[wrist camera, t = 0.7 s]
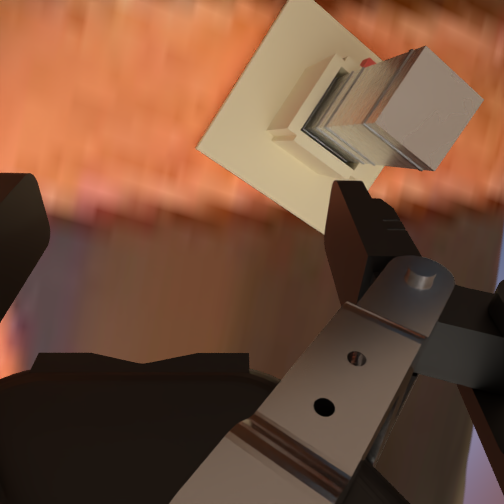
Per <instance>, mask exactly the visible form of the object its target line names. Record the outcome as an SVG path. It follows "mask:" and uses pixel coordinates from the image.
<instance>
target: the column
mask: <svg viewBox="0 0 504 504" xmlns="http://www.w3.org/2000/svg"><path fill="white" fill-rule="evenodd" d="M483 101H484V99H483V98H482V97H481V96H480V95H479V94H477V93H476V92H475V91H474V90H473V89H472V88H471V87H470V86H469V85H468V84H467V83H466V82H465V81H463V80H462V79H461V78H460V77H459V76H458V75H457V74H456V73H455V72H454V71H453V70H452V69H451V68H449V67H448V66H447V65H446V64H445V63H444V62H443V61H442V60H441V59H440V58H439V57H438V56H437V55H435V54H434V53H433V52H432V51H431V50H430V49H429V48H428V47H427V46H424V47H421V48H418V49H415V50H413V49H411V50H409V52H407V53H404V54H402V55H399V56H396V57H393V58H390V59H388V60H385V61H382V62H379V63H377V64H374V65H371V66H368V67H366V68H365V67H362V68H361V69H360V70H357V71H351V73H349V74H346V75H343V76H341V77H338V78H337V77H335V78H334V79H333V80H332V82H331V84H330V85H329V87H328V88H327V90H326V91H325V93H324V94H323V96H322V97H321V99H320V101H319V102H318V104H317V105H316V107H315V108H314V110H313V111H312V113H311V114H310V116H309V118H308V119H307V121H306V122H305V124H304V125H303V127H302V128H301V131H302V132H303V133H305V134H306V135H308V136H309V137H310V138H312V139H313V140H314V141H316V142H317V143H318V144H320V145H321V146H322V147H324V148H325V149H326V150H328V151H329V152H330V153H332V154H333V155H334V156H336V157H337V158H338V159H340V160H341V161H344V162H346V163H347V162H354V163H361V164H363V165H364V164H372V165H373V166H375V165H382V166H392V167H401V168H410V169H418V170H419V171H423V170H429V171H435V170H436V169H437V167H438V166H439V164H440V163H441V161H442V160H443V158H444V157H445V156H446V154H447V153H448V151H449V150H450V148H451V147H452V145H453V144H454V143H455V141H456V140H457V138H458V137H459V135H460V134H461V132H462V131H463V130H464V128H465V127H466V125H467V124H468V122H469V121H470V119H471V118H472V116H473V115H474V114H475V112H476V111H477V109H478V108H479V106H480V105H481V103H482V102H483Z"/></svg>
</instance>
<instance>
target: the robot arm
mask: <svg viewBox="0 0 504 504" xmlns="http://www.w3.org/2000/svg"><path fill="white" fill-rule="evenodd" d="M49 239H50V226H49V222H48V218H47V215H46V211H45V207H44V204H43V200H42V197H41V193H40V190H39V186H38V183H37V180H36V178H35V177H34V175H32V174H30V173H0V322H1V321H2V319H3V317H4V316H5V314H6V312H7V311H8V309H9V308H10V306H11V304H12V303H13V301H14V300H15V298H16V296H17V295H18V293H19V291H20V290H21V288H22V287H23V285H24V283H25V282H26V280H27V278H28V277H29V275H30V274H31V272H32V270H33V269H34V267H35V266H36V264H37V262H38V261H39V259H40V257H41V256H42V254H43V253H44V251H45V249H46V248H47V246H48V243H49ZM324 245H325V251H326V255H327V258H328V262H329V265H330V269H331V272H332V276H333V279H334V283H335V286H336V290H337V293H338V297H339V300H340V304H341V308H340V309H339V310H338V311H337V312H336V314H335V315H334V316H333V317H332V319H331V320H330V321H329V322H328V324H327V325H326V326H325V327H324V328H323V330H322V331H321V332H320V333H319V335H318V336H317V337H316V338H315V339H314V341H313V342H312V343H311V344H310V346H309V347H308V348H307V349H306V351H305V352H304V353H303V354H302V355H301V357H300V358H299V359H298V360H297V362H296V363H295V364H294V365H293V366H292V368H291V369H290V370H289V371H288V373H287V374H286V375H285V376H284V378H283V379H282V380H280V379H278V378H276V377H273V376H271V375H269V374H266V373H263V372H260V371H257V370H253V369H249V353H196V354H191V355H186V356H181V357H176V358H171V359H166V360H161V361H156V362H151V363H145V364H140V363H135V362H130V361H126V360H121V359H117V358H112V357H108V356H103V355H99V354H94V353H39V354H38V356H37V358H36V360H35V362H34V364H33V366H32V368H31V370H27V371H23V372H19V373H16V374H12V375H10V376H7V377H4V378H2V379H0V504H410V503H409V502H408V501H407V500H406V499H405V498H404V497H403V496H402V495H401V494H400V493H399V492H398V491H397V490H396V489H395V488H394V487H393V486H392V485H391V484H390V483H389V482H388V481H387V480H386V479H385V478H384V477H383V476H382V475H381V474H380V473H379V472H378V471H377V470H376V469H375V468H374V467H375V465H376V463H377V461H378V459H379V457H380V455H381V452H382V450H383V448H384V445H385V443H386V441H387V439H388V436H389V434H390V432H391V430H392V428H393V426H394V424H395V422H396V420H397V418H398V416H399V414H400V412H401V410H402V408H403V406H404V404H405V402H406V400H407V398H408V396H409V394H410V392H411V390H412V388H413V386H414V384H415V382H416V380H417V378H418V376H419V374H422V375H426V376H429V377H433V378H437V379H441V380H444V381H448V382H452V383H456V384H457V387H458V389H459V391H460V394H461V396H462V398H463V401H464V403H465V405H466V408H467V410H468V412H469V415H470V417H471V420H472V422H473V424H474V427H475V429H476V431H477V434H478V436H479V438H480V441H481V443H482V445H483V448H484V450H485V453H486V455H487V457H488V460H489V462H490V464H491V467H492V469H493V471H494V474H495V476H496V478H497V481H498V483H499V486H500V488H501V490H502V492H503V495H504V280H503V281H501V282H500V283H499V285H498V287H497V289H496V291H495V293H494V294H493V293H488V292H483V291H479V290H474V289H469V288H465V287H461V286H458V285H455V279H454V277H453V275H452V273H451V272H450V271H449V270H448V269H447V268H446V267H444V266H443V265H441V264H440V263H438V262H436V261H433V260H431V259H428V258H425V257H422V256H421V254H420V253H419V251H418V249H417V248H416V246H415V244H414V243H413V241H412V239H411V237H410V236H409V234H408V232H407V231H405V227H404V225H403V224H402V222H400V219H399V217H398V215H397V213H396V212H395V210H394V208H392V207H391V206H390V205H388V204H387V203H386V202H384V201H383V200H382V199H376V198H371V196H370V194H369V192H368V190H367V189H366V187H365V185H364V183H363V181H354V180H334V182H333V184H332V188H331V194H330V200H329V206H328V212H327V219H326V225H325V233H324Z"/></svg>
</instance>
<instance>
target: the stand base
mask: <svg viewBox="0 0 504 504" xmlns="http://www.w3.org/2000/svg"><path fill="white" fill-rule="evenodd" d="M379 62H382V60H381V59H380V58H379V57H378V56H377V55H375V54H374V53H373V52H372V51H371V50H370V49H369V48H367V47H366V46H365V45H364V44H363V43H362V42H361V41H359V40H358V39H357V38H356V37H355V36H354V35H353V34H351V33H350V32H349V31H348V30H347V29H346V28H345V27H343V26H342V25H341V24H340V23H339V22H338V21H337V20H335V19H334V18H333V17H332V16H331V15H330V14H329V13H327V12H326V11H325V10H324V9H323V8H322V7H321V6H319V5H318V4H317V3H316V2H315V1H314V0H287V1H286V3H285V5H284V6H283V8H282V9H281V11H280V13H279V14H278V16H277V18H276V19H275V21H274V22H273V24H272V26H271V27H270V29H269V30H268V32H267V34H266V35H265V37H264V38H263V40H262V42H261V43H260V45H259V46H258V48H257V50H256V51H255V53H254V54H253V56H252V58H251V59H250V61H249V62H248V64H247V66H246V67H245V69H244V70H243V72H242V74H241V75H240V77H239V78H238V80H237V82H236V83H235V85H234V86H233V88H232V90H231V91H230V93H229V94H228V96H227V98H226V99H225V101H224V103H223V104H222V106H221V107H220V109H219V111H218V112H217V114H216V115H215V117H214V119H213V120H212V122H211V123H210V125H209V127H208V128H207V130H206V131H205V133H204V135H203V136H202V138H201V139H200V141H199V143H198V144H197V146H196V147H195V149H197V150H198V151H200V152H201V153H203V154H204V155H206V156H207V157H209V158H210V159H212V160H213V161H215V162H216V163H218V164H219V165H221V166H222V167H224V168H225V169H227V170H228V171H230V172H231V173H233V174H234V175H236V176H237V177H239V178H240V179H242V180H243V181H245V182H246V183H247V184H249V185H250V186H252V187H253V188H255V189H256V190H258V191H259V192H261V193H262V194H264V195H265V196H267V197H268V198H270V199H271V200H273V201H274V202H276V203H277V204H279V205H280V206H282V207H283V208H285V209H286V210H288V211H289V212H291V213H292V214H294V215H295V216H297V217H298V218H300V219H301V220H303V221H304V222H306V223H307V224H309V225H310V226H312V227H313V228H315V229H316V230H318V231H319V232H321V233H322V234H324V233H325V225H326V219H327V212H328V206H329V200H330V194H331V188H332V184H333V182H334V180H354V181H363V183H364V185H365V187H366V189H367V190H369V188H370V187H371V185H372V184H373V182H374V181H375V179H376V178H377V176H378V175H379V173H380V172H381V170H382V169H383V167H384V166H382V165H375V166H373V165H372V164H364V165H363V164H361V163H354V162H347V163H346V162H344V161H341V160H340V159H338V158H337V157H336V156H334V155H333V154H332V153H330V152H329V151H328V150H326V149H325V148H324V147H322V146H321V145H320V144H318V143H317V142H316V141H314V140H313V139H312V138H310V137H309V136H308V135H306V134H305V133H303V132H302V131H301V128H302V127H303V125H304V124H305V122H306V121H307V119H308V118H309V116H310V114H311V113H312V111H313V110H314V108H315V107H316V105H317V104H318V102H319V101H320V99H321V97H322V96H323V94H324V93H325V91H326V90H327V88H328V87H329V85H330V84H331V82H332V80H333V79H334V78H335V77H337V78H338V77H341V76H343V75H346V74H349V73H351V71H357V70H360V69H361V68H362V67H365V68H366V67H368V66H371V65H374V64H377V63H379Z"/></svg>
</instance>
